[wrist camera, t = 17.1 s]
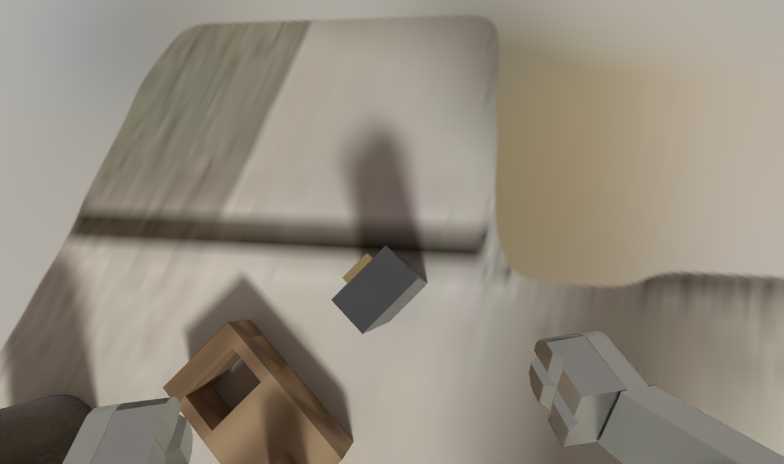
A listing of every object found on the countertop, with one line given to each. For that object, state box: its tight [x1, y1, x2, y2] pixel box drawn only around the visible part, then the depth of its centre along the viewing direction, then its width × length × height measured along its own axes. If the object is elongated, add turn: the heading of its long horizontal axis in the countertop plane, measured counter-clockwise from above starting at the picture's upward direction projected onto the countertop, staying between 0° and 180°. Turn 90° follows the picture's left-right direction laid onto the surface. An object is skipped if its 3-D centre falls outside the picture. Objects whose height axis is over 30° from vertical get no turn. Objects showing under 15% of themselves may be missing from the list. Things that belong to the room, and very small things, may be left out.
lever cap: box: [332, 246, 427, 334], centre depth 32 cm, size 4×5×12 cm
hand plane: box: [163, 320, 353, 464], centre depth 34 cm, size 15×8×9 cm, turn 45°
